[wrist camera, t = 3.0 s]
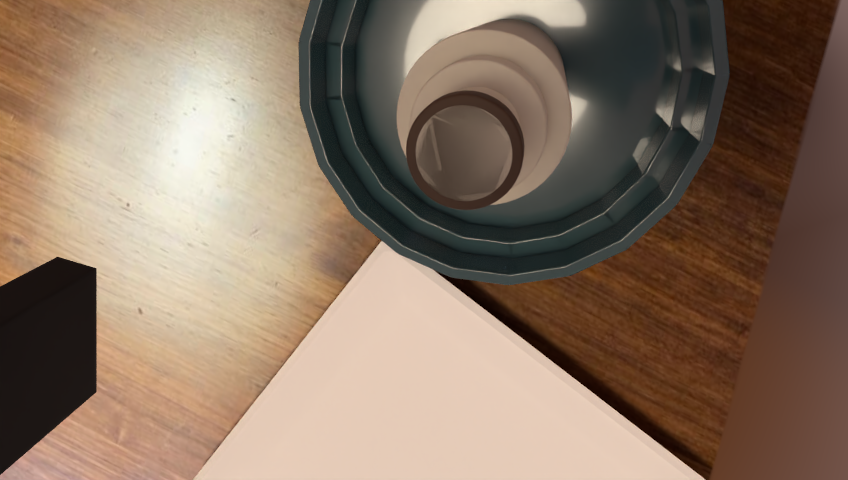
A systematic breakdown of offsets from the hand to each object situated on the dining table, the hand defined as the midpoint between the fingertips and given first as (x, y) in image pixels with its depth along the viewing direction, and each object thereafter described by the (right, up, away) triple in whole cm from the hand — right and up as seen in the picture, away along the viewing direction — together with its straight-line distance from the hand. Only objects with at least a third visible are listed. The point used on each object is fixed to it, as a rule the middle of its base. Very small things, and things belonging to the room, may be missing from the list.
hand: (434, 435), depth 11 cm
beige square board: (+1, -13, +32) cm, 35 cm away
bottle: (+4, +12, +21) cm, 25 cm away
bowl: (+4, +12, +22) cm, 25 cm away
